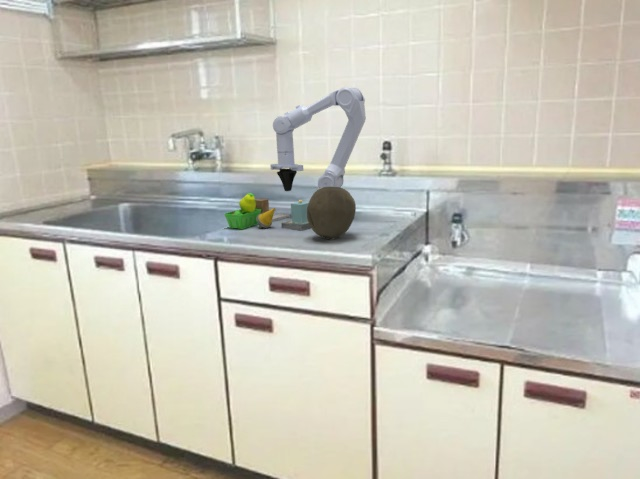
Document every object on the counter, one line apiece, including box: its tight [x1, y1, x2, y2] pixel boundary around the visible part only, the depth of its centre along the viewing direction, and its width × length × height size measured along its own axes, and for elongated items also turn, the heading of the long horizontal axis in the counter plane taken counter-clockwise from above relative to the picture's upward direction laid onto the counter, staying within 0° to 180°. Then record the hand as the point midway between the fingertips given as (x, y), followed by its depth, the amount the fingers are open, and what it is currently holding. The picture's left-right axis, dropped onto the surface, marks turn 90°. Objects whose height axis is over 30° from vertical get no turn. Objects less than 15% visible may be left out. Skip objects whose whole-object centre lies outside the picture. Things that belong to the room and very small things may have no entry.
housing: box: [290, 199, 309, 223], centre depth 174 cm, size 4×4×7 cm
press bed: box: [280, 220, 312, 231], centre depth 175 cm, size 10×9×2 cm
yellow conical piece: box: [256, 207, 276, 229], centre depth 174 cm, size 5×5×10 cm
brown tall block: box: [255, 198, 270, 214], centre depth 184 cm, size 3×4×7 cm
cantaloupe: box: [307, 187, 357, 240], centre depth 155 cm, size 14×14×15 cm
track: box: [272, 213, 290, 222], centre depth 188 cm, size 11×4×1 cm, turn 138°
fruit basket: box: [223, 192, 261, 230], centre depth 178 cm, size 11×9×11 cm
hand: (288, 190), depth 189 cm, fingers closed
